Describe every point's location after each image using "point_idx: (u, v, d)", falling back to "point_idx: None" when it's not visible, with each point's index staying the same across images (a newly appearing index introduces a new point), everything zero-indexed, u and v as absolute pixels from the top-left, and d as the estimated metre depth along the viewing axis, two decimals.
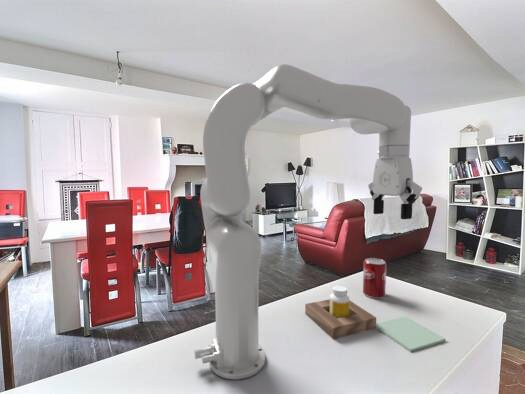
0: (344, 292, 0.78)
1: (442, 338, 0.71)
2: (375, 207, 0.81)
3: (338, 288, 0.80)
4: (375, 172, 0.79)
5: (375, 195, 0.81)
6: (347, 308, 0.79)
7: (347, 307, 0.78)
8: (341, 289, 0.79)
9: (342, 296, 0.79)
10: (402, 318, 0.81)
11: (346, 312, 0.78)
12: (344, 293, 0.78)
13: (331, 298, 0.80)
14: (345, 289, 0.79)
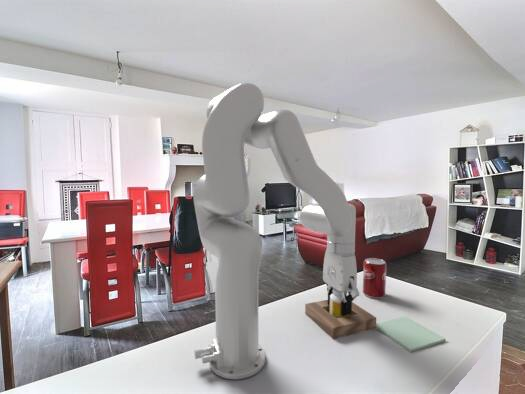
0: None
1: (442, 338, 0.71)
2: (329, 299, 0.83)
3: None
4: (324, 262, 0.82)
5: (328, 286, 0.83)
6: None
7: None
8: None
9: None
10: (402, 318, 0.81)
11: None
12: None
13: (331, 298, 0.80)
14: None
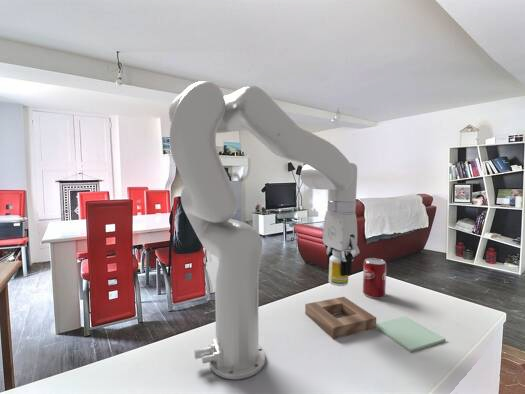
0: None
1: (442, 338, 0.71)
2: (328, 262, 0.81)
3: None
4: (325, 223, 0.81)
5: (328, 249, 0.82)
6: None
7: None
8: None
9: None
10: (402, 318, 0.81)
11: None
12: None
13: (331, 259, 0.78)
14: None
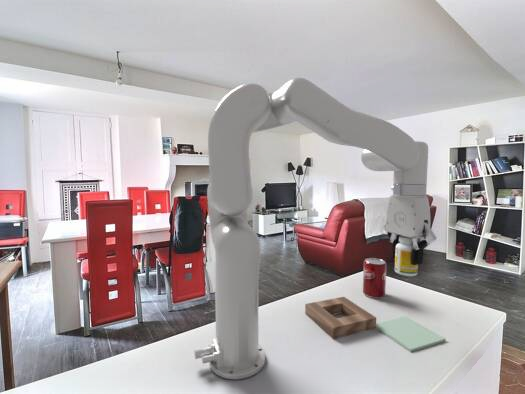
0: None
1: (442, 338, 0.71)
2: (393, 251, 0.75)
3: None
4: (389, 209, 0.75)
5: (392, 237, 0.75)
6: None
7: None
8: None
9: (411, 244, 0.71)
10: (402, 318, 0.81)
11: None
12: None
13: (398, 247, 0.72)
14: None
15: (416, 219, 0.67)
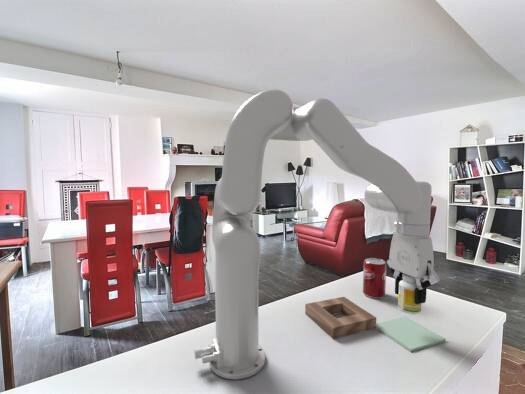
0: None
1: (442, 338, 0.71)
2: (397, 287, 0.76)
3: None
4: (392, 246, 0.75)
5: (396, 273, 0.76)
6: None
7: None
8: None
9: (415, 283, 0.72)
10: (402, 318, 0.81)
11: None
12: None
13: (402, 285, 0.73)
14: None
15: (419, 260, 0.68)
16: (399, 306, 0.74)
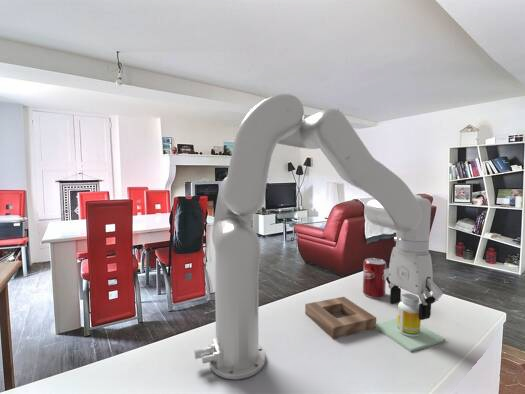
0: (416, 301, 0.72)
1: (442, 338, 0.71)
2: (392, 297, 0.77)
3: (408, 296, 0.73)
4: (391, 261, 0.75)
5: (392, 284, 0.77)
6: None
7: None
8: (412, 297, 0.73)
9: (414, 305, 0.72)
10: None
11: (419, 323, 0.72)
12: (416, 302, 0.72)
13: (401, 307, 0.73)
14: (416, 297, 0.73)
15: (418, 276, 0.68)
16: (398, 328, 0.74)
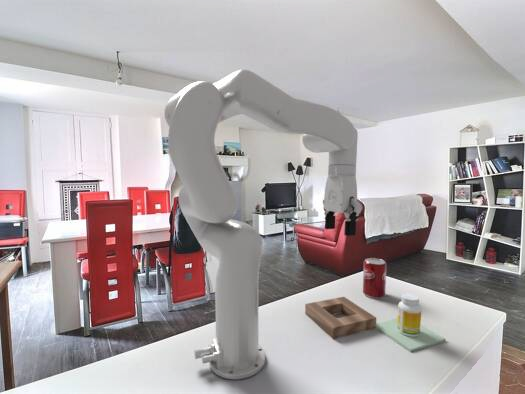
0: (417, 301, 0.72)
1: (442, 338, 0.71)
2: (326, 222, 0.84)
3: (408, 296, 0.73)
4: (326, 189, 0.83)
5: (326, 211, 0.84)
6: (420, 318, 0.72)
7: (419, 318, 0.72)
8: (412, 297, 0.73)
9: (414, 305, 0.72)
10: None
11: (419, 323, 0.72)
12: (416, 302, 0.72)
13: (401, 307, 0.73)
14: (417, 297, 0.73)
15: (342, 195, 0.75)
16: (398, 328, 0.74)
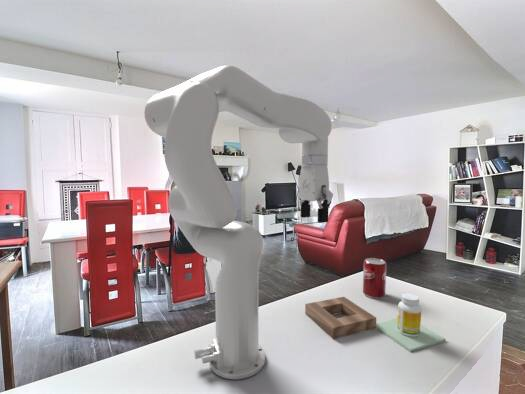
0: (417, 301, 0.72)
1: (442, 338, 0.71)
2: (302, 211, 0.88)
3: (408, 296, 0.73)
4: (300, 179, 0.86)
5: (302, 200, 0.88)
6: (419, 318, 0.72)
7: (419, 318, 0.72)
8: (412, 297, 0.73)
9: (414, 305, 0.72)
10: None
11: (419, 323, 0.72)
12: (416, 302, 0.72)
13: (401, 307, 0.73)
14: (417, 297, 0.73)
15: (315, 184, 0.79)
16: (398, 328, 0.74)
